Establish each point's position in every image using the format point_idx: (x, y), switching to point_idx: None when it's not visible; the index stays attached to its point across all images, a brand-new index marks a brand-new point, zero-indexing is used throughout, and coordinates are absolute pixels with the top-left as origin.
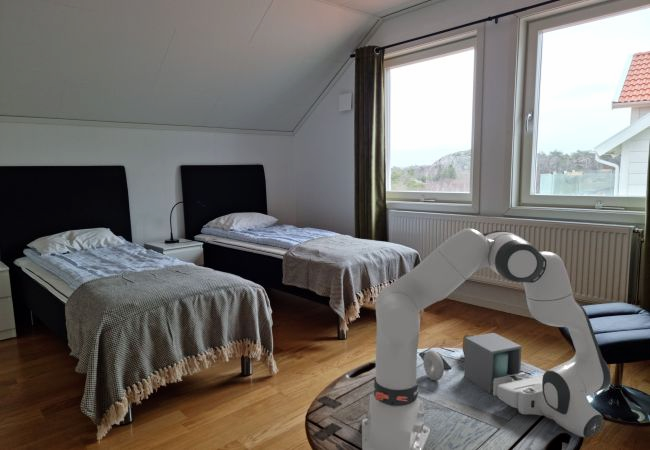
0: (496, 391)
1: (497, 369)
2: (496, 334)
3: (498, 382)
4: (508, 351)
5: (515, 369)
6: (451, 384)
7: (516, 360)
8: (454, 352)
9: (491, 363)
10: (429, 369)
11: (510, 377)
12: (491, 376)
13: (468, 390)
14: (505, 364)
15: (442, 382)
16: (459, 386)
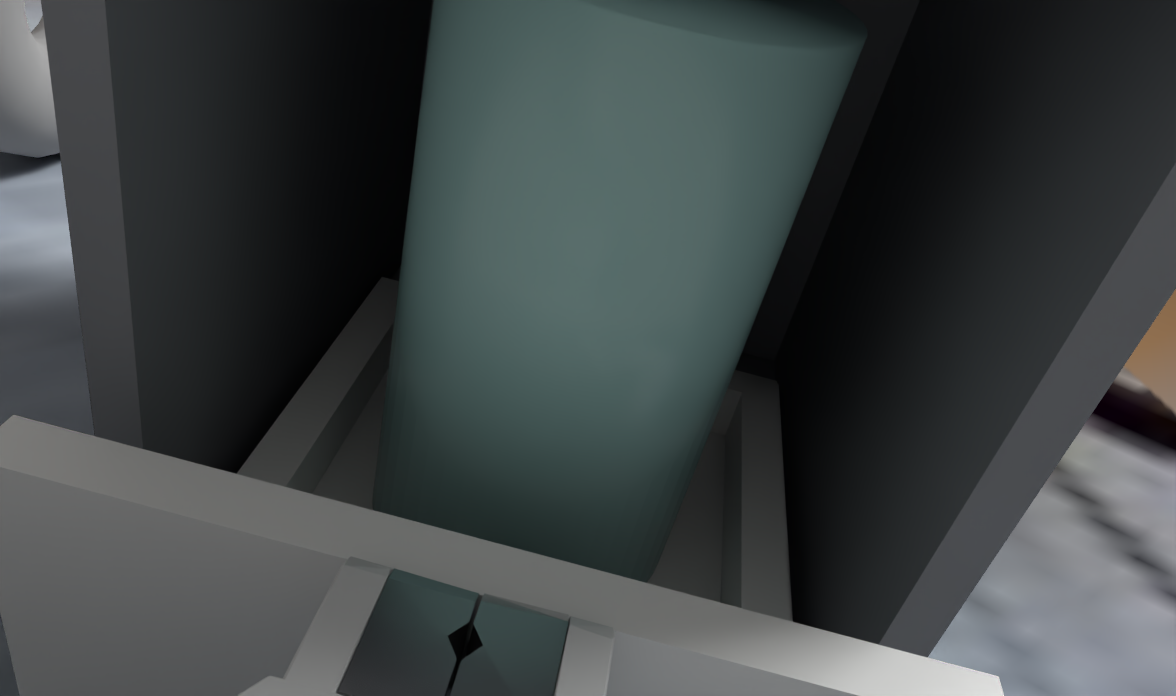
0: (54, 687)
1: (416, 300)
2: None
3: (82, 553)
4: (1001, 112)
5: (902, 507)
6: (54, 253)
7: (1010, 333)
8: None
9: (53, 9)
10: (38, 26)
11: (342, 629)
12: (105, 353)
13: (4, 401)
14: (595, 268)
15: (41, 199)
16: (60, 310)
